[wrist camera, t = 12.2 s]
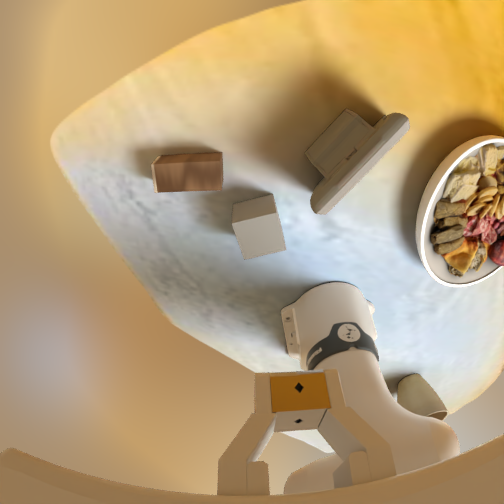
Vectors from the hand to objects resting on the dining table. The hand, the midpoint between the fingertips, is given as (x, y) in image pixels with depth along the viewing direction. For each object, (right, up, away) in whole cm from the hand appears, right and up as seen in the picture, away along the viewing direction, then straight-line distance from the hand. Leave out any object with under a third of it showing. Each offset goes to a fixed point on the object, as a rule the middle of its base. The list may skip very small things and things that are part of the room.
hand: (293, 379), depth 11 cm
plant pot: (+45, -33, +67) cm, 87 cm away
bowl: (+39, +13, +35) cm, 54 cm away
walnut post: (-15, +15, +29) cm, 36 cm away
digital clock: (+12, +19, +30) cm, 37 cm away
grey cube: (-1, +10, +36) cm, 37 cm away
